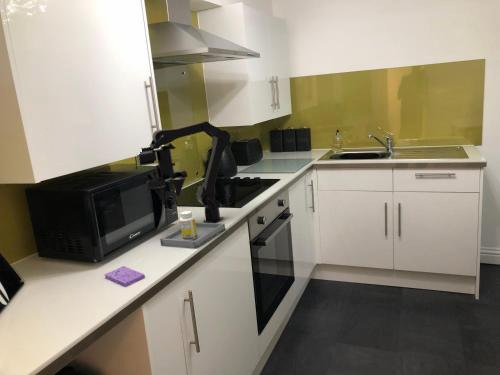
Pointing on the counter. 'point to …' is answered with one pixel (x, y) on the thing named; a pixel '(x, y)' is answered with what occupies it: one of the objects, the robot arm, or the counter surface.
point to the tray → (203, 235)
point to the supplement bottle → (188, 226)
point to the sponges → (124, 276)
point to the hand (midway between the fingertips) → (171, 199)
